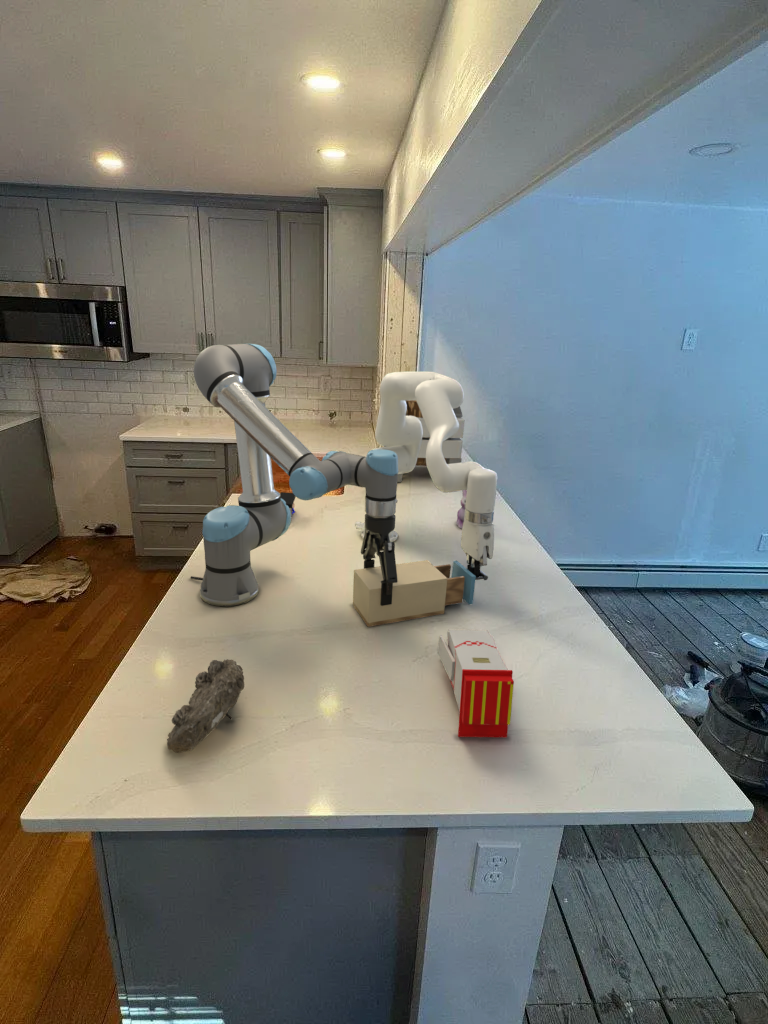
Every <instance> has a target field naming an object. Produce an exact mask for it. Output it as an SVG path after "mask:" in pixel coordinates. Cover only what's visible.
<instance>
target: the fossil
mask: <svg viewBox="0 0 768 1024" xmlns="http://www.w3.org/2000/svg"><path fill="white" fill-rule="evenodd" d="M243 670H244V669H243V667H242V665H240V664H237V662H236V661H235V660H234V659H232V658H231V659H227V658H226V659H224V660H223V661H222V660H217V659H212V660H211V661H210V663H209V665H208V666H207V671H201V672H199V673H198V674H197V675H196V676H195V680H194V684H195V685H194V687H195V689H194V690H193V693H192V694H191V697H190V698H189V700H188V704H184V705H182V706H181V707H180V709H177V710H176V711H175V713H174V715H173V716H172V718H171V723H172V724H173V727H172V730H171V731H170V732H168V734H167V738H166V741H167V742H166V745H167V749H168V750H169V751H173V752H174V753H176V754H178V753H182V752H188V751H189V752H192V751H193V750H195V748H196V747H197V746H199V744H200V743H201V742H203V741H204V740H205V739H206V738H207V737H208V736H209V735H210V734H211V733H212V732H214V730H215V729H217V727H218V726H219V724H220V722H221V721H222V720H223V719H224V718H225V716H226V717H227V719H229V720H233V717H232V715H230V714H229V710H230V709H231V708H234V706H235V704H236V703H237V702H238V699H239V697H240V695H241V693H242V691H243V690H245V689H244V688H245V675H244V671H243Z"/></svg>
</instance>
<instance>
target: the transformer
mask: <svg viewBox="0 0 768 1024" xmlns="http://www.w3.org/2000/svg"><path fill="white" fill-rule="evenodd" d="M406 404H407V411H406V416H415V417H417V418H418V419H419V420H420V422H421V424H422V429H423V436H422V441H421V446H420V450H419V454H418V458H417V462H416V465H415V467H417V466H418V467H427V465H426V449H427V445H428V442H429V440H430V433H429V431H428V428H427V426H426V423H425V421H424V418H423V416H422V414H421V411H420V409H419V406H418V404H417V401H416V400H410V401H406ZM453 411H454V414H455V416H456V418H457V420H458V423H459V429H458V431H457V432H456V433H455V434H454V435H452V436H451V437H450V438H448V439H446V440H445V441H443V442H442V453H443V456H444V459H445V461H446V464H452V463H461V462H463V460H462V453H463V442H464V441H463V440H462V439H463V438H464V431H465V430H464V429H465V419H464V418H463V411H462V408H461V405H460V406H459V407H458V408H454V409H453ZM383 447H385V446H383ZM403 475H404V473H403V474H398V477H397V483H402V482H403Z"/></svg>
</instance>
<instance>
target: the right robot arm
mask: <svg viewBox="0 0 768 1024" xmlns="http://www.w3.org/2000/svg"><path fill="white" fill-rule="evenodd" d="M379 396H380V404H379V410H378V414H377V415H378V416H377V420H376V425H375V433H374V439H375V441H376V443H377V444H378V445H379V446H380V447H375V448H372V449H370V450H369V451H371V450H376V449H381V450H390V451H393V452H395V453H396V454H397V456H398V471H399V472H398V474H403V475H404V474H409V473H411V472H413V470H414V469H415V467H416V466H415V465H416V462H417V458H418V454H419V450H420V446H421V441H422V436H423V429H422V424H421V422H420V420H419V419H418V418H417V417H415V416H406V411H407V404H406V401H410V400H416V401H417V404H418V406H419V409H420V411H421V414H422V416H423V418H424V421H425V423H426V426H427V428H428V431H429V433H430V440H429V442H428V445H427V449H426V465H427V466H426V468H427V471H428V473H429V476H430V478H431V480H432V481H431V482H432V483H433V484H434V486H435V487H436V488H437V490H438V491H440V492H442V493H445V494H446V493H454V492H462V490H467V495H466V505H465V516H464V523H463V528H462V529H461V535H460V548H461V550H462V551H463V553H464V554H465V556H466V564H467V566H466V569H468V570H469V571H470V572H471V573H472V574H474V575H475V576H476V577H480V576H479V574H480V570H481V567H486V566H488V559H489V560H492V559H493V557H494V550H495V527H494V524H493V522H494V515H495V505H496V495H497V487H498V474H497V472H496V471H494V470H493V469H489V468H486V467H484V466H482V465H481V464H480V463H478V462H476V461H462V462H461V463H452V464H446V461H445V459H444V456H443V453H442V442H443V441H445V440H446V439H448V438H450V437H451V436H452V435H454V434H455V433H456V432H457V431H458V429H459V423H458V420H457V418H456V416H455V414H454V411H453V409H454V408H458V407H459V406H460V407H461V406H462V405H463V403H464V400H465V391H464V389H463V386H462V385H461V383H460V382H459V381H458V380H456V379H455V378H453V377H450V376H448V375H444V374H442V373H439V372H437V371H429V370H427V371H426V370H425V371H423V370H422V371H393V372H389V373H386V374H385V375H384V376H383V377H382V379H381V381H380V386H379ZM384 446H385V447H384ZM365 457H367V454H366V455H365ZM354 527H355V529H356V530H361V534H360V535H361V538H362V540H363V539H364V534H365V521H364V522H362V521H355V522H354ZM398 537H399V534H398V532H397V531H396V530H395V529H394V530H393V531H391V532H390V533H389V539H390V542H395V541H397V540H398Z"/></svg>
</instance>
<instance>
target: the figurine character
mask: <svg viewBox="0 0 768 1024" xmlns="http://www.w3.org/2000/svg"><path fill="white" fill-rule="evenodd" d="M279 493H280V496H281V499H283V500H284V501H285V502H286V505H287V506H288V507H289V509H290V512H291V518H292V517H293V515H294V514H295V513H296V510H295V500H296V498H297V497H296V496H295V495H294V494H293V493H292V492H279Z"/></svg>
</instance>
